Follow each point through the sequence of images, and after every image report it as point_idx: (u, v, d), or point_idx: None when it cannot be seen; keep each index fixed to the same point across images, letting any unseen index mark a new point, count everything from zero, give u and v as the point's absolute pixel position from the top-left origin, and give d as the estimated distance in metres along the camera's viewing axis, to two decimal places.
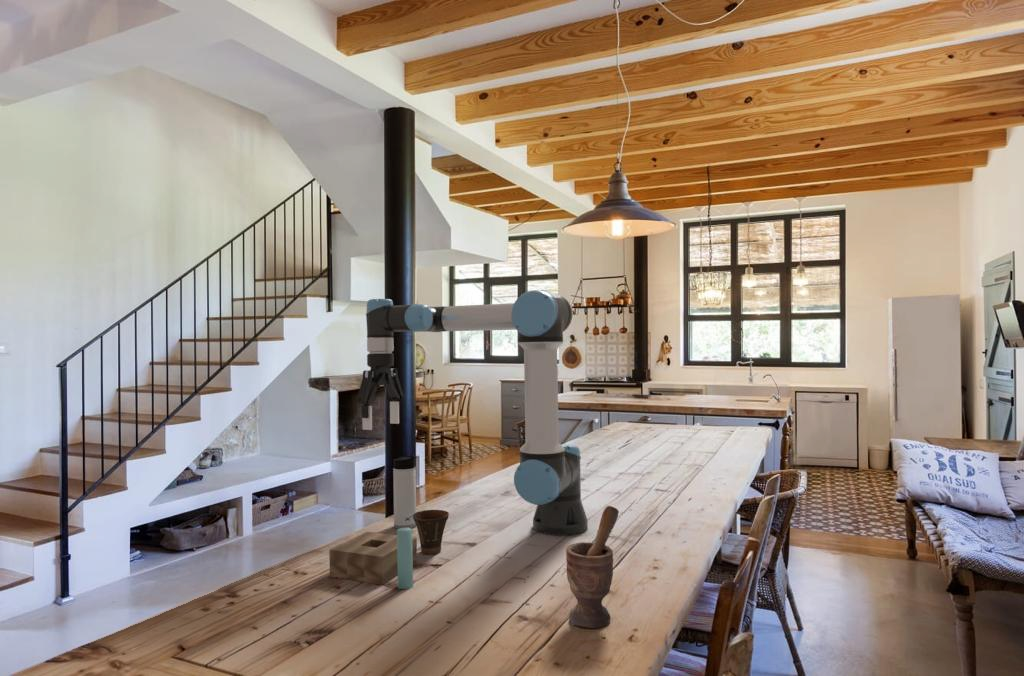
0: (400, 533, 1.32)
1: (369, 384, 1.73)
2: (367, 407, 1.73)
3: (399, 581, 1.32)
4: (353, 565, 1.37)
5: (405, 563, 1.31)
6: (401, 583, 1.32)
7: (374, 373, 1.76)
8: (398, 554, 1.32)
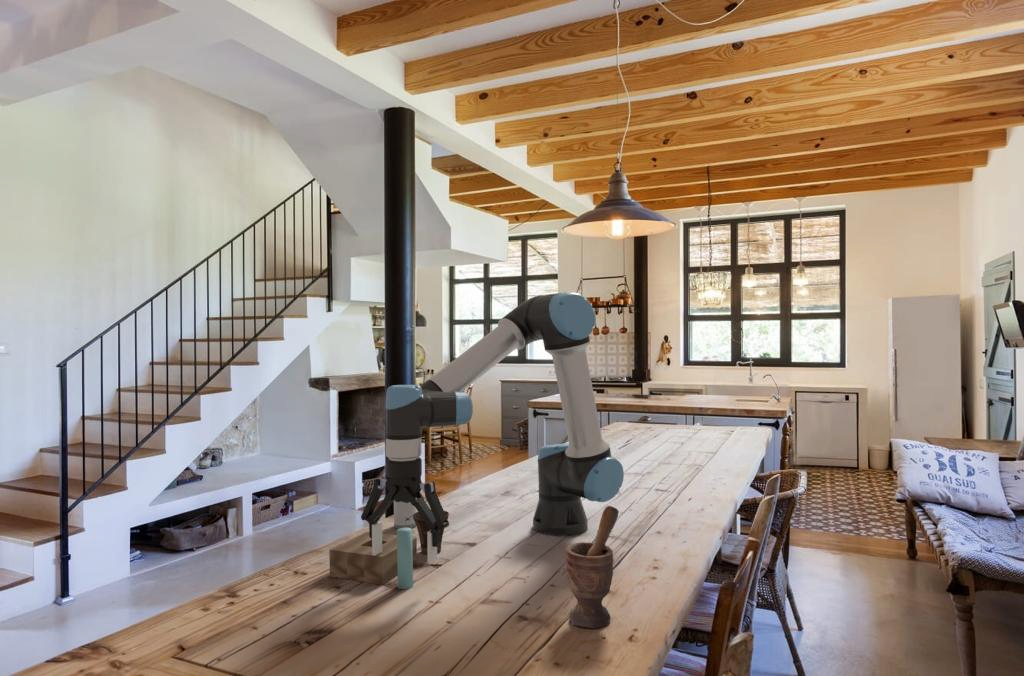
0: (400, 533, 1.32)
1: (372, 496, 1.35)
2: (371, 525, 1.35)
3: (399, 581, 1.32)
4: (353, 565, 1.37)
5: (405, 563, 1.31)
6: (401, 583, 1.32)
7: (385, 483, 1.34)
8: (398, 554, 1.32)
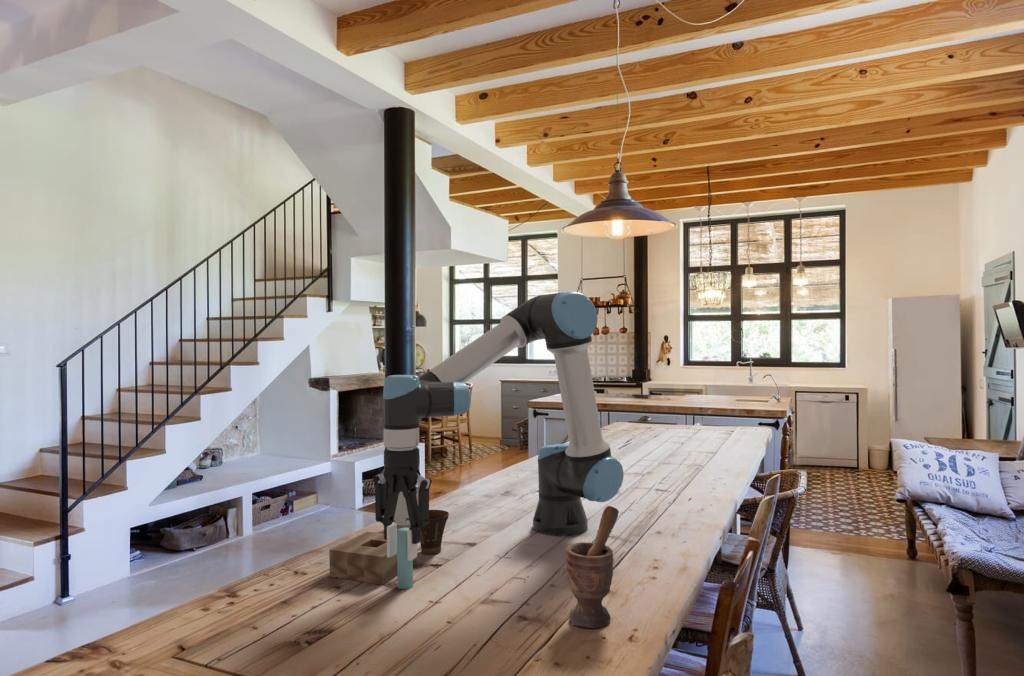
0: (400, 533, 1.32)
1: (377, 494, 1.34)
2: (386, 526, 1.34)
3: (399, 581, 1.32)
4: (353, 565, 1.37)
5: (405, 563, 1.31)
6: (401, 584, 1.32)
7: (384, 475, 1.34)
8: (398, 554, 1.32)
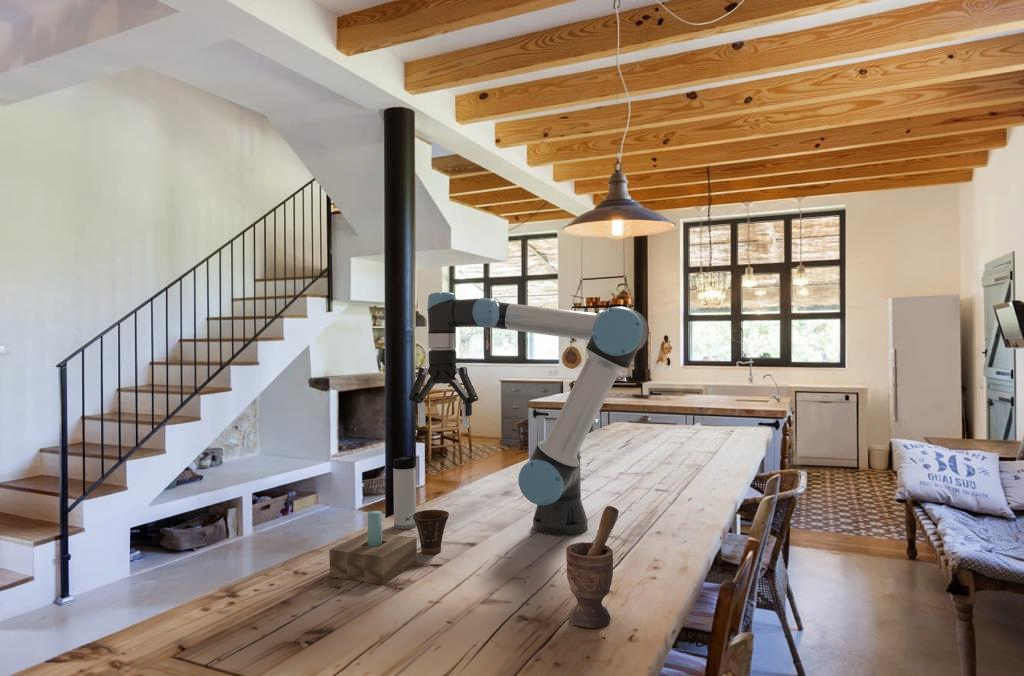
0: (371, 515, 1.42)
1: (417, 381, 1.72)
2: (417, 404, 1.73)
3: None
4: (353, 565, 1.37)
5: (374, 544, 1.42)
6: None
7: (428, 370, 1.71)
8: (368, 535, 1.42)
